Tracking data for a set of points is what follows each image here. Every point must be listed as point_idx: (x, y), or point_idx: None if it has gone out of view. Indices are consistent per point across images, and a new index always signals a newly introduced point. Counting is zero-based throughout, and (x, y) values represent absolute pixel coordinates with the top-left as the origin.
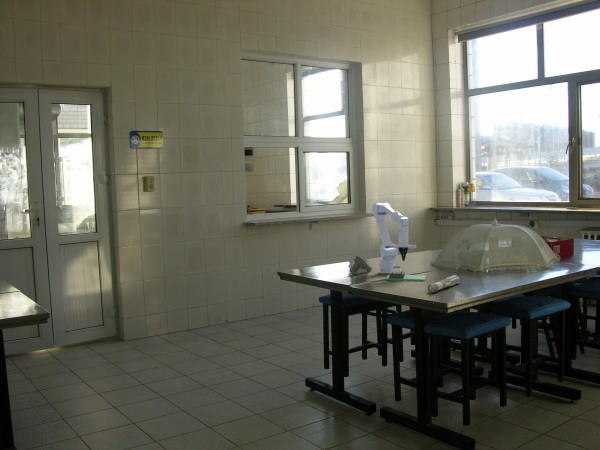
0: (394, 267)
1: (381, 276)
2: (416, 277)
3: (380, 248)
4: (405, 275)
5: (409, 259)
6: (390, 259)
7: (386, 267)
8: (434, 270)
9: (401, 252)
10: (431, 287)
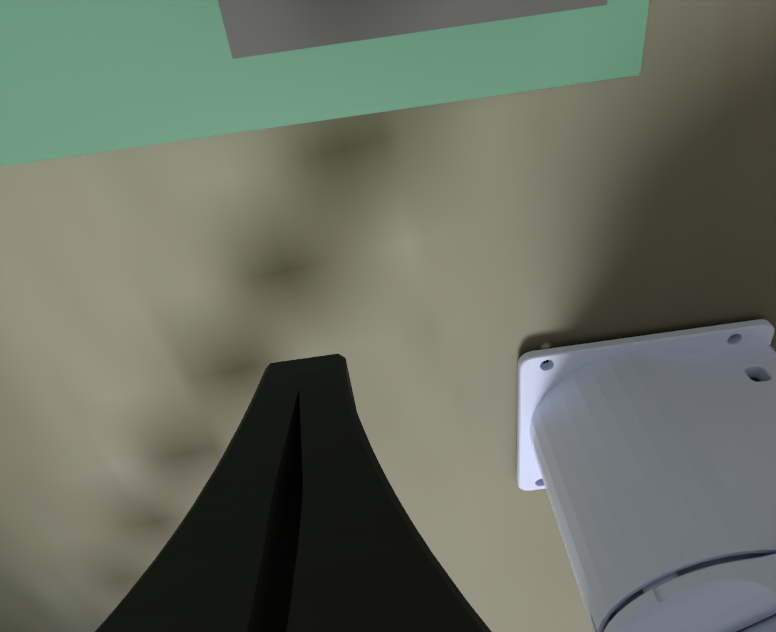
0: None
1: (771, 29)
2: None
3: None
4: (241, 66)
5: None
6: (694, 557)
7: (702, 413)
8: (89, 627)
9: (368, 591)
10: None
